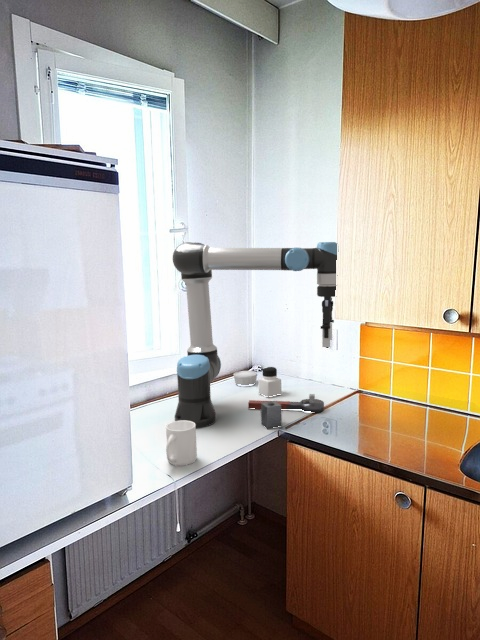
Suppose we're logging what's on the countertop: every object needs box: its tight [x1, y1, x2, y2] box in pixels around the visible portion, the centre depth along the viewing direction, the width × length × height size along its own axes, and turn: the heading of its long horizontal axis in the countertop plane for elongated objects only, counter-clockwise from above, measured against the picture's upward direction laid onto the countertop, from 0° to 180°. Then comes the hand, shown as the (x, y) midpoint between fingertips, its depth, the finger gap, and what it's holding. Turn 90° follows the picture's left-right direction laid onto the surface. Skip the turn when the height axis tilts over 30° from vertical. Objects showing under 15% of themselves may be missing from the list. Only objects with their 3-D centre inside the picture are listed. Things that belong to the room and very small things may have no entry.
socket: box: [260, 400, 283, 430], centre depth 163 cm, size 5×5×8 cm
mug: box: [165, 420, 198, 467], centre depth 135 cm, size 9×12×11 cm
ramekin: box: [233, 370, 258, 385], centre depth 217 cm, size 11×11×5 cm
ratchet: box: [247, 393, 325, 414], centre depth 180 cm, size 29×9×6 cm, turn 81°
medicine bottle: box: [257, 366, 282, 397], centre depth 199 cm, size 7×7×12 cm
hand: (327, 343), depth 171 cm, fingers open, 13 cm apart
